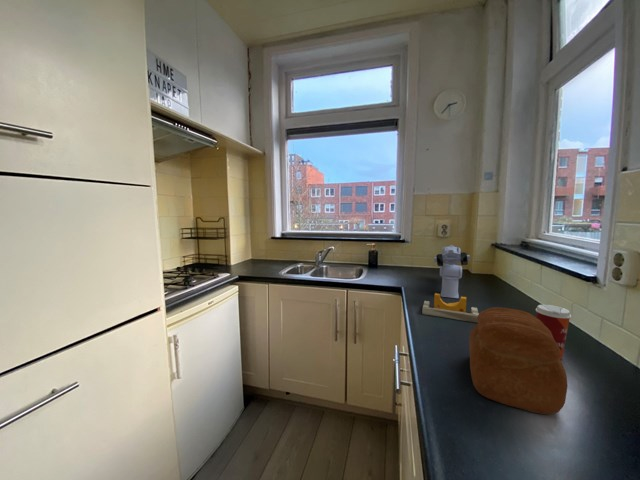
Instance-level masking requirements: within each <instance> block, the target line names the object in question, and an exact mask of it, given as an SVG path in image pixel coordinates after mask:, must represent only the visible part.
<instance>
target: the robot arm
mask: <svg viewBox="0 0 640 480" xmlns="http://www.w3.org/2000/svg"><path fill="white" fill-rule="evenodd" d="M433 260H434V261H433V262H434V263H436V264H437V266H438V267H439V276H440V277H441V278H442V281H441V290H440V297H442V298H444V297H445V298H450V299H460V297H459V296H460V295H459V280H460V279H462V278H463V277H462V276H463V266H467V265H468V264H469V263H468V261H471V256H470V254H467V252H461V248H460V247H459V246H454V244H450V245H449V246H443V247H442V248H441V253H438V254H436V256H434V258H433ZM460 263H461V265H458V264H460Z"/></svg>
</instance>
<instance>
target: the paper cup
mask: <svg viewBox="0 0 640 480" xmlns="http://www.w3.org/2000/svg"><path fill="white" fill-rule="evenodd" d="M535 312H536V318H538V319H539V320H540V321H541V322H542V323H543V324H544V325H545V326H546V327H547V328H548V329H549V330H550V331H551V333H552V336H553V338H554V340H555V342H556V343H557V345H558V347H559V348H560V356H559V359H560V361H561V360H562V359H563V356H564V351H565V347H566V346H565V345H566V340H567V335H568V330H569V329H568V328H569V324H570V320H571V318H572V315H571V312H570V310H569V309H567V308H564V307H561V306H557V305H552V304H538V305H537V307H536V308H535Z"/></svg>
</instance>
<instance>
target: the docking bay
mask: <svg viewBox="0 0 640 480" xmlns="http://www.w3.org/2000/svg"><path fill="white" fill-rule="evenodd" d="M470 308H471V309H470V313H468V312H466V313H464V312H457V311H450V310H444V309H437V308H434V307H430V301H429V300H424V302H423V305H422V311H421V312H422V313H421V314H422V315H426V316H432V317H439V318H446V319H452V320H458V321H465V322H470V323H476V324H478V320H477V316H478V315H479V313H480V312H479V310H478V307H474V306H472V307H470Z"/></svg>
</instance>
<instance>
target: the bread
mask: <svg viewBox="0 0 640 480" xmlns="http://www.w3.org/2000/svg"><path fill="white" fill-rule="evenodd" d="M478 313H479V315H478V316H477V320H478V323H476V324H475V325H474V326H473V327H472V328H471V330H470V332H469V339H468V345H469V368H470V375H471V381H472V384H473V387H474V389H475V390H476V391H477V393H479V394H480V395H481V396H483V397H485V398H486V399H489V400H492V401H494V402H497V403H499V404H503V405H505V406H510V407H514V408H517V409H520V410H523V411H527V412H531V413H536V414H542V415H553V414H557V413H559V412H560V411H561V410H562V409H563V407H564V405H565V404H566V400H567V398H566V397H567V393H568V376H567V373H566V369H565V367H564V365H563V362H562V361H561V360H560V359H559V356H560V348H559V347H558V345H557V343H556V342H555V340H554V338H553V336H552V333H551V331H550V330H549V329H548V328H547V327H546V326H545V325H544V324H543V323H542V322H541V321H540V320H539V319H538V318H537V316H535V315H534V314H531V313H530V312H527V311H524V310H520V309H516V308H515V309H514V308H508V307H500V306H497V307H496V306H495V307H494V306H493V307H489V308H486V309H484V310H482V311H480V312H478Z"/></svg>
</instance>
